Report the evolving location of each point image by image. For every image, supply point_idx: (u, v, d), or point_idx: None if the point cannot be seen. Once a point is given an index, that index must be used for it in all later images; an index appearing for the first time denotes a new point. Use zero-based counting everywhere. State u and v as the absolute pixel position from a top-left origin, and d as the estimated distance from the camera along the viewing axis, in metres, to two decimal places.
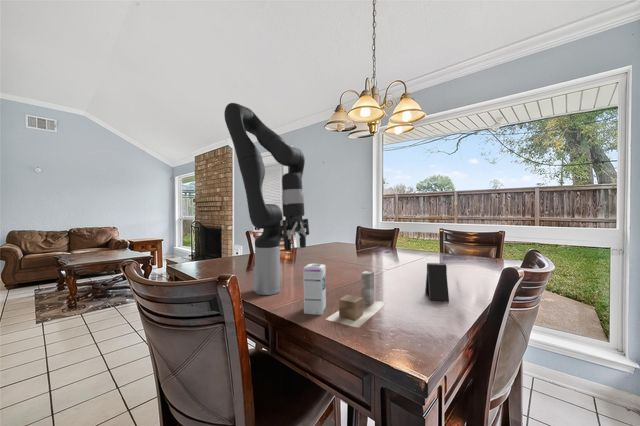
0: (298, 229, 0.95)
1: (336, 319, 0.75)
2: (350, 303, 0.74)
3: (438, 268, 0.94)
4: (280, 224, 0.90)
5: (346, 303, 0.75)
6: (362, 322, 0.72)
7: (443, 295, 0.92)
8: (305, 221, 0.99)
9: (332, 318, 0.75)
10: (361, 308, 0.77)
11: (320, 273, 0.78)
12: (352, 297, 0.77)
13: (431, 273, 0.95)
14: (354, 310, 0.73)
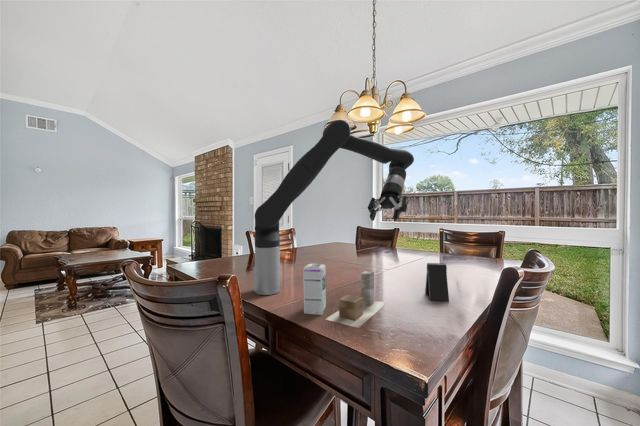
0: None
1: (336, 319, 0.75)
2: (350, 303, 0.74)
3: (438, 268, 0.94)
4: (406, 199, 0.98)
5: (346, 303, 0.75)
6: (362, 322, 0.72)
7: (443, 295, 0.92)
8: (375, 202, 1.06)
9: (332, 318, 0.75)
10: (361, 308, 0.77)
11: (320, 273, 0.78)
12: (352, 297, 0.77)
13: (431, 273, 0.95)
14: (354, 310, 0.73)
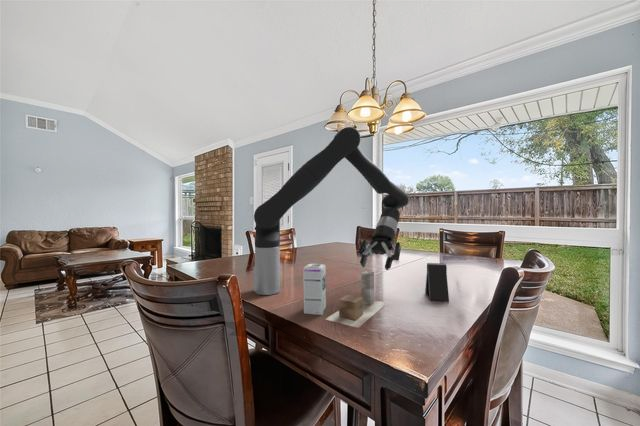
0: None
1: (336, 319, 0.75)
2: (350, 303, 0.74)
3: (438, 268, 0.94)
4: (399, 246, 0.93)
5: (346, 303, 0.75)
6: (362, 322, 0.72)
7: (443, 295, 0.92)
8: None
9: (332, 318, 0.75)
10: (361, 308, 0.77)
11: (320, 273, 0.78)
12: (352, 297, 0.77)
13: (431, 273, 0.95)
14: (354, 310, 0.73)
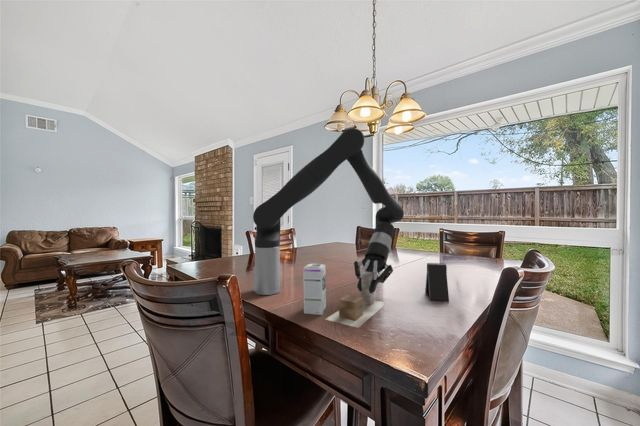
0: None
1: (336, 319, 0.75)
2: (350, 303, 0.74)
3: (438, 268, 0.94)
4: (390, 270, 0.86)
5: (346, 303, 0.75)
6: (362, 322, 0.72)
7: (443, 295, 0.92)
8: None
9: (332, 318, 0.75)
10: (361, 308, 0.77)
11: (320, 273, 0.78)
12: (352, 297, 0.77)
13: (431, 273, 0.95)
14: (354, 310, 0.73)
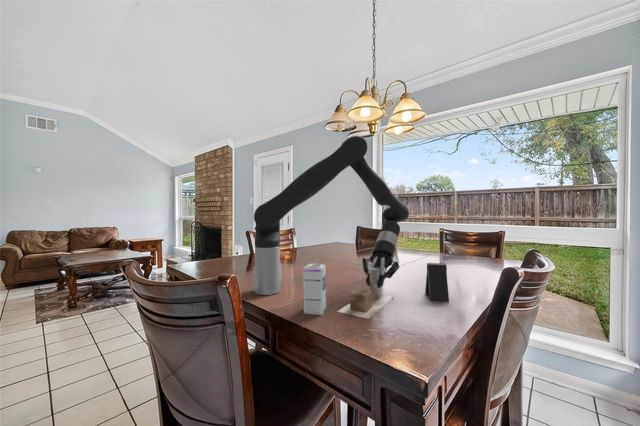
0: None
1: (347, 311, 0.80)
2: (361, 296, 0.80)
3: (438, 268, 0.94)
4: (396, 266, 0.92)
5: (357, 296, 0.80)
6: (372, 314, 0.78)
7: (443, 295, 0.92)
8: None
9: (344, 310, 0.81)
10: (371, 301, 0.83)
11: (320, 273, 0.78)
12: (362, 291, 0.83)
13: (431, 273, 0.95)
14: (364, 303, 0.79)
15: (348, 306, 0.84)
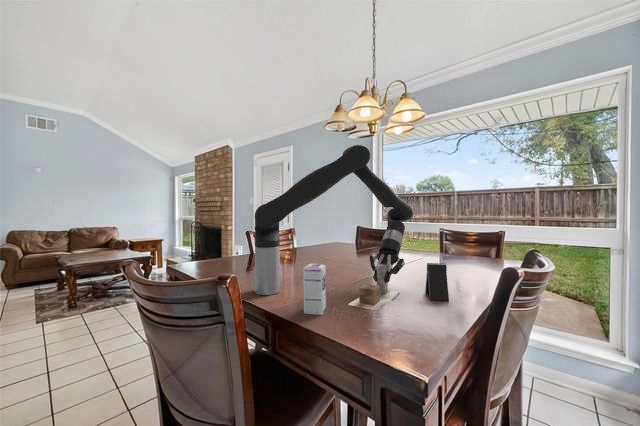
0: None
1: (357, 304, 0.86)
2: (370, 290, 0.85)
3: (438, 268, 0.94)
4: (402, 263, 0.98)
5: (366, 290, 0.86)
6: (380, 306, 0.84)
7: (443, 295, 0.92)
8: None
9: (353, 303, 0.86)
10: (378, 295, 0.88)
11: (320, 273, 0.78)
12: (370, 286, 0.89)
13: (431, 273, 0.95)
14: (373, 296, 0.85)
15: (357, 300, 0.90)
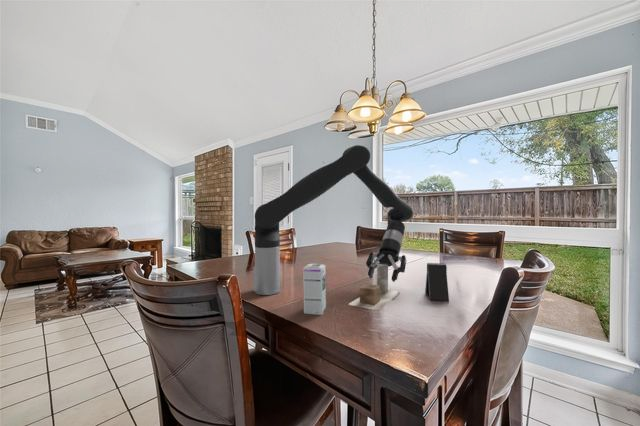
0: None
1: (357, 304, 0.86)
2: (370, 290, 0.86)
3: (438, 268, 0.94)
4: (405, 259, 0.99)
5: (366, 290, 0.86)
6: (380, 306, 0.84)
7: (443, 295, 0.92)
8: None
9: (354, 303, 0.87)
10: (379, 295, 0.89)
11: (320, 273, 0.78)
12: (371, 285, 0.89)
13: (431, 273, 0.95)
14: (373, 296, 0.85)
15: (358, 300, 0.90)
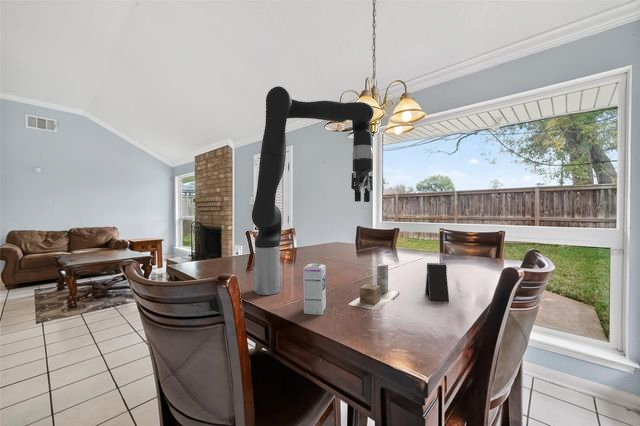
0: (366, 183, 1.02)
1: (357, 304, 0.86)
2: (370, 290, 0.86)
3: (438, 268, 0.94)
4: (353, 176, 0.97)
5: (366, 290, 0.86)
6: (380, 306, 0.84)
7: (443, 295, 0.92)
8: (370, 178, 1.07)
9: (354, 303, 0.87)
10: (379, 295, 0.89)
11: (320, 273, 0.78)
12: (371, 285, 0.89)
13: (431, 273, 0.95)
14: (373, 296, 0.85)
15: (358, 300, 0.90)
